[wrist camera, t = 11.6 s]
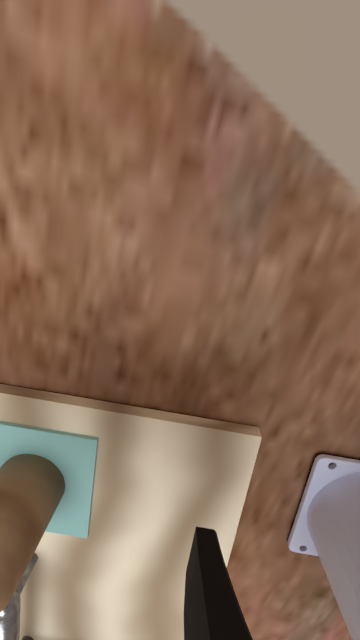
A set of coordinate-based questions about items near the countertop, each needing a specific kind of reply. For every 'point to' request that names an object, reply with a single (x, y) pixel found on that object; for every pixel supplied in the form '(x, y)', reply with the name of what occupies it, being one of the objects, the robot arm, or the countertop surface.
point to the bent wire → (15, 609)
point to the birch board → (132, 516)
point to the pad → (70, 458)
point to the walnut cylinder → (24, 514)
